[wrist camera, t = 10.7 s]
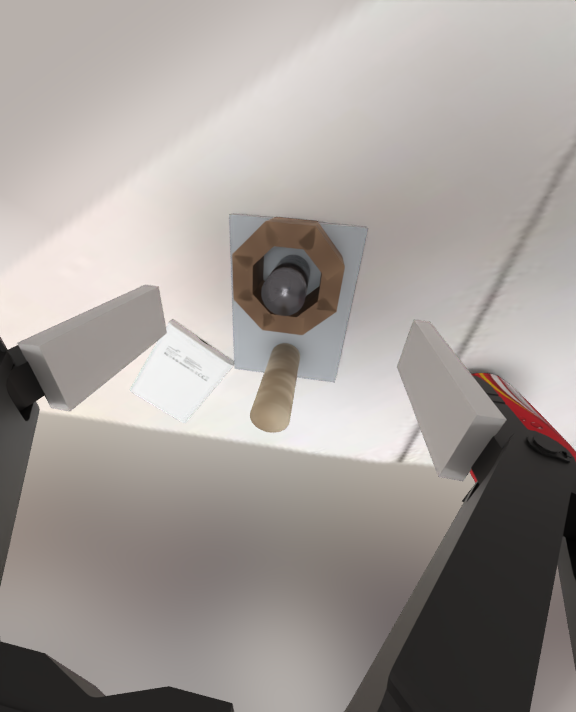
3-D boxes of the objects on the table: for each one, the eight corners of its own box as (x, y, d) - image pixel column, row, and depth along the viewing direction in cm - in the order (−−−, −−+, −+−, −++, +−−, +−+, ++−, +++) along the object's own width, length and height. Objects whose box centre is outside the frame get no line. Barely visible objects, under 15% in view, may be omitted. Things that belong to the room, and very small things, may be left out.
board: (366, 226, 21) (368, 228, 20) (334, 375, 29) (334, 382, 28) (233, 213, 22) (229, 214, 21) (237, 362, 30) (234, 368, 29)
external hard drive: (136, 383, 34) (174, 316, 29) (190, 415, 36) (237, 359, 31) (128, 390, 33) (167, 322, 27) (185, 424, 35) (232, 367, 29)
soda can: (485, 354, 26) (589, 458, 16) (520, 396, 28) (632, 513, 18) (420, 392, 29) (470, 498, 19) (455, 427, 31) (518, 541, 21)
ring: (330, 319, 25) (331, 339, 21) (246, 308, 25) (234, 326, 22) (347, 224, 20) (352, 229, 17) (246, 214, 21) (230, 217, 17)
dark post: (312, 256, 22) (308, 275, 17) (308, 291, 23) (303, 318, 18) (276, 252, 22) (262, 269, 17) (274, 287, 24) (260, 313, 19)
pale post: (301, 345, 26) (291, 406, 19) (298, 369, 28) (288, 435, 20) (272, 341, 27) (250, 400, 19) (270, 366, 28) (249, 429, 21)
